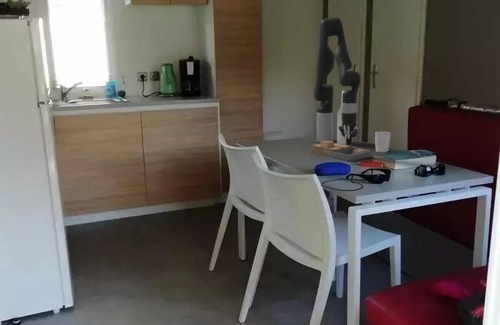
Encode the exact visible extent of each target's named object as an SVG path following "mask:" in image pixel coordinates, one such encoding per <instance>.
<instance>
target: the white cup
mask: <svg viewBox="0 0 500 325" xmlns="http://www.w3.org/2000/svg"><path fill="white" fill-rule="evenodd" d="M390 142H391V132H390V131H384V130H383V131H375V132H374V144H375V152H377V153H388V152H387V151H390V150H389V149H390Z"/></svg>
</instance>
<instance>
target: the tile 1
mask: <svg viewBox="0 0 500 325" xmlns="http://www.w3.org/2000/svg"><path fill="white" fill-rule="evenodd" d="M334 143H335V141H322V142H319V144H320V147H326V148H329V147H334Z"/></svg>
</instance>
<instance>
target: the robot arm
mask: <svg viewBox="0 0 500 325" xmlns="http://www.w3.org/2000/svg"><path fill="white" fill-rule="evenodd" d="M318 30H319V32H318V35H319V37H318V40H319V41H318V54H317V62H316V63H317V64H316V75H315V76H316V77H315V82H314V83H315V84H314V89H313V98H314V100H315V101H317V102H319V101H320V102H323V101H324V102H325V103H323V104H322V105H320V106H317V107H316V142H318V143H320V142H322V141H333V142H335V141H334V138H335V137H334V136H335V135H334V133H335V130H334V129H335V128H334V126H335V125H334V124H333V118H334V117H333V113H334V112H333V109H334V108H333V106H334V105H333V104H334V86H333V84H329V83H328V84H323V83H324V80H326V78H327V77H328V76H329V75H330V74H331V72H332V71H333V70H334V68H335V62H336V65H337V68H338V82H339V85H341V87H349V88H348V89H347V90H344V91H345V92H343V96H342V95H341V100H342V121H343V122H342V125H341V126H339V130H340V132H341V133H342V135H343V137H345V138H346V145H348V146H352V144H353V141H352V138H356V137H357V135H358V133H359V131H361V128H359V127H358V126H357V120H358V119H357V118H358V117H357V116H358V109H357V108H358V105H357V104H358V102H357V100H358V99H357V96H358V95H357V94H358V92H359V88H360V84H361V75H360V73H359V72H357V71H348V70H350V69H352V67H353V63H352V60H351V57H350V55H349V51H348V48H347V43H346V36H345V32H344V27H343V22H342V20H341V18H339V17H329V18H323V19H321V20H320V22H319V28H318ZM335 36H336V37H337V45H336V48H335V52H334V51H333V50H332V48H331V47H330V45H329V44H328V39H329V37H335Z"/></svg>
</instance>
